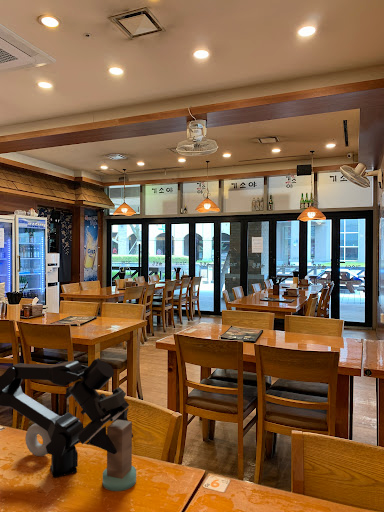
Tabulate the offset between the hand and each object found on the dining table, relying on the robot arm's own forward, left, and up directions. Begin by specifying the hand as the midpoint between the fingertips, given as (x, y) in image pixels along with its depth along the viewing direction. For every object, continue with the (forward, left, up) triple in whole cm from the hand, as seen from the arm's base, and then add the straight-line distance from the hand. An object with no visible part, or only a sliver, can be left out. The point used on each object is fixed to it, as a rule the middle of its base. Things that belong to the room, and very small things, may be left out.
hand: (124, 445), depth 105 cm
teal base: (-1, +1, -10) cm, 10 cm away
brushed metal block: (-1, +1, -8) cm, 8 cm away
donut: (-18, +26, -10) cm, 34 cm away
